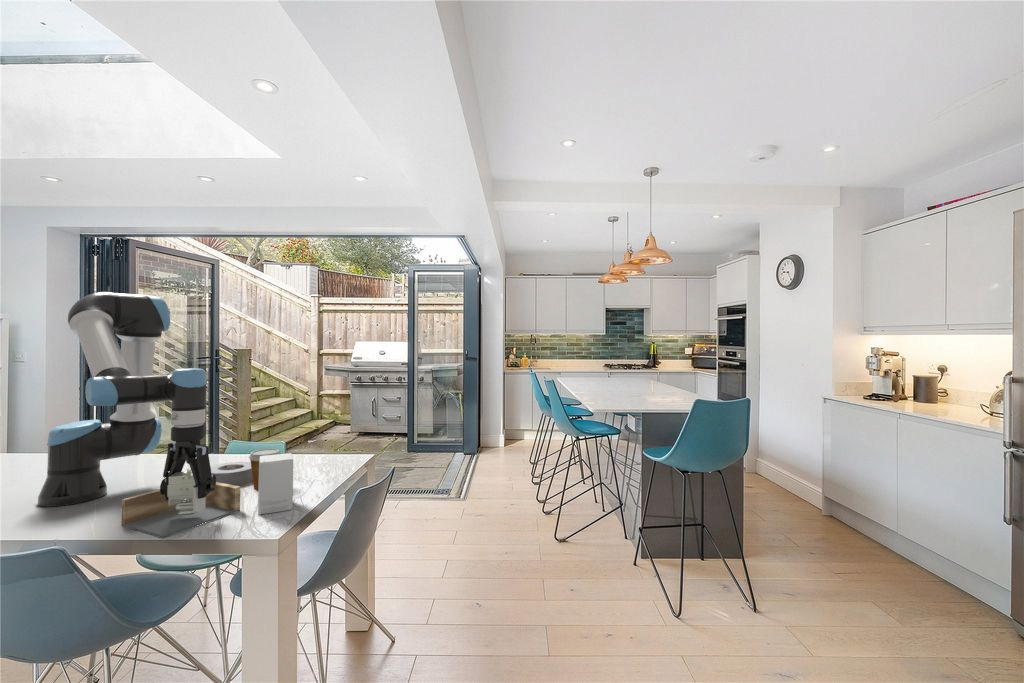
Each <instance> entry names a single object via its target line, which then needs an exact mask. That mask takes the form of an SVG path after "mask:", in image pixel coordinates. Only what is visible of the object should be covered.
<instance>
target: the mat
mask: <svg viewBox="0 0 1024 683" xmlns="http://www.w3.org/2000/svg"><path fill="white" fill-rule="evenodd" d="M237 512H241V508H240V509H238V511H237V510H235V511H234V510H230V509H225V508H221V507H217V506H212V505H208V504H205V509H202V510H199V511H196V513H195V514H192V515H181V516H180V515H178V513H179V512H176V509H174V510H171V511H168V512H165V513H161V514H158V515H155V516H152V517H148V518H145V519H142V520H138V521H135V522H132V523H129V524H125V525H124V524H120V525H121V527H123V528H127V529H131V530H133V531H134V530H135V531H138V532H141V533H144V534H148V535H152V536H155V537H158V538H162V539H165V538H168V537H171V536H174V535H176V534H179V533H181V532H184V531H187V530H190V529H193V528H196V527H198V526H197V525H199V526H201V525H200V524H202V523H204V524H206V523H205V522H207V523H209V521H210V522H213V521H215V520H216V521H217V520H218V519H221V518H223V517H227V516H230V515H233V514H234V513H235V514H236V513H237ZM202 525H203V524H202ZM124 526H125V527H124ZM195 526H196V527H195ZM192 527H193V528H192Z"/></svg>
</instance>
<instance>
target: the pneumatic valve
mask: <svg viewBox="0 0 1024 683" xmlns="http://www.w3.org/2000/svg"><path fill="white" fill-rule="evenodd" d="M212 480H213V482H212V483H209V484H207V485H206V495H207V494H209V493H210V492H211V491H213V490H214V489H215V486H216V476H215V475H212ZM194 485H196V484H195V480H194V477H193V474H192V471H191V468H188V469H186V471H181V472H174V473H172V474H170V475H169V476H167V477H165V478H164V477H163V479H162V480H161V483H160V484H159V490H160V493H161V494H162V495H165V497H166V500H176V499H180V500H181V501H182V500H183V499H184V500H183V501H182V502H181V503H178V504H177V505H176V512H179V513H178V515H180V516H181V515H192V514H195V513H196V512H194V511H193V491H194V487H193V486H194Z"/></svg>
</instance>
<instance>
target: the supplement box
mask: <svg viewBox="0 0 1024 683" xmlns="http://www.w3.org/2000/svg"><path fill="white" fill-rule="evenodd" d="M257 492H258V494H257V496H258V498H257V499H258V500H257V503H258V504H257V508H258V511H257V512H258V515H266V514H271V513H279V512H284V511H291V510H293V500H294V496H293V495H294V458H293V455H292V453H291V452H289V453H287V452H286V453H281V454H277V455H266V456H260V459H259V489H258V491H257Z"/></svg>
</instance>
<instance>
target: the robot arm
mask: <svg viewBox="0 0 1024 683" xmlns="http://www.w3.org/2000/svg"><path fill="white" fill-rule="evenodd" d="M170 314H171V313H170V309H169V307H168V304H167V303H166V301H165V299H164V298H162V297H159V296H155V295H149V294H135V293H119V292H110V291H109V292H108V291H100V292H99V291H98V292H94V293H90V294H88V295H85V296H84V297H81V298H80V299H79V300H77V301H76V302H75V303H74V304H73V305H72V306H71V308H70V309H69V312H68V314H67V323H68V326H69V329H70V330H71V331H72V333H74V334H75V335H77V338H78V341H79V343H80V346H81V348H82V352H83V354H84V357H85V360H86V362H87V365H88V367H89V368H88V369H89V371H90V375H91V377H90V378H88V379H87V381H86V384H85V399H86V402H87V403H88V405H89V406H92V407H112V406H116V411H115V412H114V413H113V414H111V415H110V416H109V422H106V423H103V422H102V421H101V420H100V419H87V420H80V421H78V420H77V421H74V422H68V423H64V424H62V425H58V426H55V427H53V428H52V429H51V430H50V431H49V433H48V438H47V443H46V445H47V467H46V468H47V469H46V470H47V472H46V475H47V476H46V479H45V481H44V483H43V485H42V488H41V490H40V491H39V494H38V496H37V505H38V506H41V507H63V506H69V505H75V504H82V503H85V502H88V501H93V500H95V499H99V498H102V497H103V496H105V495H106V494H107V493H108V486H107V483H106V481H105V478H104V476H103V474H102V471H101V461H106V460H111V459H119V458H125V457H132V456H140V455H142V454H143V455H144V454H148V453H152V452H153V451H155V450H156V448H157V447H158V445H159V444H160V441H161V436H162V422H161V420H160V419H159V418H156V414H155V412H153V411H152V410H151V406H152V405H151V403H159V402H171V415H170V418H171V422H170V423H171V425H172V426H171V428H170V441H172V442H170V443H167V454H166V458H165V464H164V469H163V473H162V477H163V479H164V478H166V477H167V476H169V475H170V474H172V473H174V472H183V468H184V466H185V464H188V466H189V469H191V471H192V474H193V477H194V480H195V484H196V485H194V486H193V487H194V491H193V511H194V512H196V511H199V510H202V509H205V502H206V485H207V484H209V483H212V482H213V480H212V473H211V467H210V466H211V462H210V461H211V460H210V455H209V453H210V452H209V451H210V447H209V446H208V445H206V446H202V445H201V440H202V439H204V438H205V437H206V425H205V424H204V423H206V411H207V410H206V409H207V408H206V399H207V397H206V395H207V390H206V389H207V384H208V383H207V372H206V370H205V369H203V368H196V367H195V368H194V367H193V368H176V369H174V370H173V371H172V373H164V374H154V364H155V363H154V362H155V350H156V349H155V348H156V342H157V341H158V340H160V339H161V338H162V333H163V332H166V331H168V330H169V328H170V325H171V316H170ZM113 330H115V333H114V331H113ZM116 336H117V337H118V338H119V339H120V340H121V343H120V345H119V343H118V341H117V338H116ZM177 503H181V500H180V499H176V500H169V502H168V505H169V506H171V505H174V504H177Z"/></svg>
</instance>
